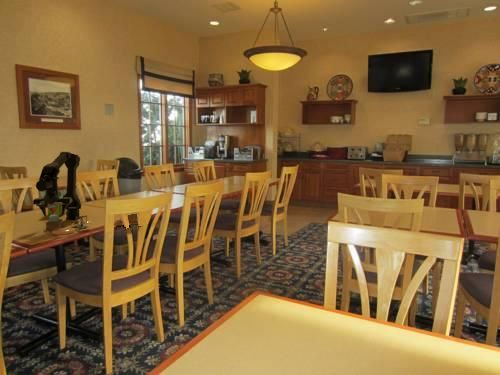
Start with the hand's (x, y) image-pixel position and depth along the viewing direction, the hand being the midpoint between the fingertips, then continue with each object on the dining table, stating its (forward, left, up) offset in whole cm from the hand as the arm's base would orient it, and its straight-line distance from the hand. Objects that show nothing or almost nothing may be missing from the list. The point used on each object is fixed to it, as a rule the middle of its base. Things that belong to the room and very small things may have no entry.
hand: (54, 215), depth 208 cm
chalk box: (-19, -32, -7) cm, 38 cm away
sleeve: (0, 0, -7) cm, 7 cm away
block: (0, 0, -7) cm, 7 cm away
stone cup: (-28, +28, -7) cm, 40 cm away
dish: (+2, +13, -7) cm, 15 cm away
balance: (-9, +12, -7) cm, 16 cm away
